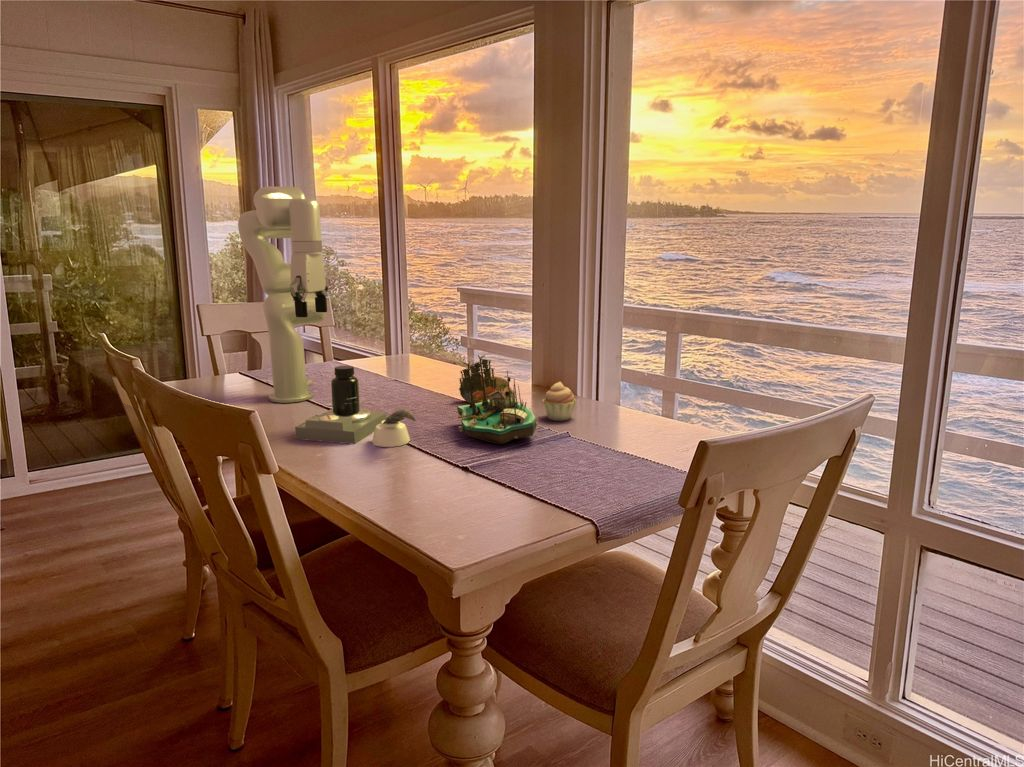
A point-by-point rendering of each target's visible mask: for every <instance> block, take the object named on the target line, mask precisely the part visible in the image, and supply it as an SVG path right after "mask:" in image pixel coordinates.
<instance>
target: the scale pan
mask: <svg viewBox="0 0 1024 767" xmlns="http://www.w3.org/2000/svg"><path fill="white" fill-rule="evenodd" d="M331 409H332V410H330V409H329V411H328V410H327V411H325V413H324V412H323V415H324V416H326V415H335V414H334V413H333V408H331ZM336 416H338V417H352V423H353V422H359V421H363V420H366V419H368V418H370V416H371V410H370V409H368V408H365V407H361V406H360V411H359V413H357V414H355V415H349V416H339V415H336Z"/></svg>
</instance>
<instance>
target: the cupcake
mask: <svg viewBox="0 0 1024 767" xmlns="http://www.w3.org/2000/svg"><path fill="white" fill-rule="evenodd" d="M541 401H542V403H543V405H544V408H545V412H546V413H545V414H546V417H547V419H549V420H551V421H555V422H556V421H557V422H558V421H559V422H563V421H568V420H570V419H571V418H572V415H573V410H574V408H575V406H576V405H577V402H578V401H577V400H576V398H575V395H574V393H573V392H572V390H571V389H570V388H569V387H567V386H565V385H564V384H563V382H562V381H557V382H556V383H554V384H553V385H552V386H551V387H550V388H549V390H548V391H547V392H546V393H545V398H544V399H542V400H541Z"/></svg>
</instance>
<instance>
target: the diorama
mask: <svg viewBox="0 0 1024 767" xmlns="http://www.w3.org/2000/svg"><path fill="white" fill-rule="evenodd" d="M477 357H478V359H479V361H478V362H475V363H472V364H470V363H471V362H470V361H468V363H467V362H463V363H462V364H463V365H466V366H467V368H464V369H462V370H460V371H459V373H460V375H461V377H459V384H460V385H461V388H462V389H461V388H460V387H459V388H458V390H459V394H460V396H461V398H463V395H464V394H466V393H468V395H469V393H470V396H471V400H470V403H469V404H464V405H459V406H458V405H457V406H456V409H457V414H458V416H457V418H458V419H461V425H459V426H458V430H459V431H460V432H461V433H463V432H465V433H466V435H467V436H469V437H472V438H475V439H478V440H482V441H484V442H488V443H492V444H498V445H504V444H507V443H509V442H511V441H512V440H519V439H525V438H528V437H532V436H533V435H534V434H535V431H536V429H537V426H538V425H539V422H538V421H537V419H536V416H535V414H534V413H533V411H532V410H531V408H529V407H527V402H526V401H525V403H524V401H523V399H521V393H520V392H521V391H520V386H519V384H517V387H518V398H519V401H518V398H517V390H516V382H515V379H513V388H514V389H513V388H511V386H510V382H511V379H512V377H510V376H509V373H508V372H509V371H508V370H506V376H504V379H505V380H506V381H507V384H508V387H506V386H507V385H506V383H505V386H504V388H503V389H501V386H500V390H496V391H494V392H492V393H490V394H488V395H486V393H485V386H484V382H485V385H486V387H487V388H488V386H489V385H490V386H491V387H492V388H493V383H494V388H495V389H496V378H494V376H495V373H496V372H495V373H494V370H495V367H493V368H492V365H491V362H492V360H490V359H486V358H485V359H484V358H483V357H486V354H484V355H481V357H480V355H479V354H478V355H477ZM470 376H471V377H470ZM483 376H485V378H484V377H483ZM491 376H492V377H493V378H491ZM487 377H488V378H487ZM470 378H471V380H470ZM481 378H482V381H481ZM484 379H485V380H484ZM492 379H494V381H493V380H492ZM489 380H490V382H489ZM505 380H503V382H504V381H505ZM462 381H463V382H462ZM472 381H473V382H472ZM481 382H482V383H481ZM462 383H463V386H464V387H462ZM466 385H467V386H466ZM468 385H469V386H470V387H469V386H468ZM482 385H483V386H482ZM465 387H466V389H465ZM477 389H478V391H480V390H481V391H483V402H480V403H476V404H475V402H474V399H473V390H474V392H475V391H477ZM465 390H466V391H465ZM462 391H463V392H462ZM486 396H487V397H489V400H487V397H486Z"/></svg>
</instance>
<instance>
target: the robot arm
mask: <svg viewBox="0 0 1024 767" xmlns="http://www.w3.org/2000/svg"><path fill="white" fill-rule="evenodd" d="M253 205H254V207H255V210H250V211H249V210H248V211H245V212H243V213H241V214H240V215H239V217H238V222H237V228H238V235H239V237H240V240H241V242H242V245H243V247H244V248H245V250H246V251H247V253H248V254H249V256H250V257H251V259H252V261H253V263H254V267H255V269H256V273H257V276H258V280H259V282H260V285H261V288H262V290H263V292H264V293H265V294H266V295H268V296H267V297H266V298H265V299H264V302H263V304H262V307H263V313H264V314H263V315H264V318H265V322H266V327H267V329H268V330H267V332H268V337H269V339H268V340H269V349H270V350H269V351H270V361H271V372H272V373H271V374H272V384H273V392H272V393H271V394H269V395H268V399H269V401H270V402H273V403H279V404H290V403H298V402H304V401H307V400H310V399H312V398H313V392H312V391H310V390H308V388H309V387H311V386H312V385H314V381H313V379H308V380H307V375H306V362H305V348H304V345H305V344H304V340H303V337H302V335H301V334H300V333H299V332H298V331H297V330H296V329H295V327H294V326H298V325H309V324H317V323H321V322H322V321H323V320H324V319H325V318H326V315H327V314H326V313H327V312H328V304H327V297H328V290H329V287H328V286H329V279H328V278H327V277H326V271H325V270H326V269H325V264H324V263H325V262H324V257H323V242H322V241H323V239H322V228H321V226H322V225H321V211H320V204H319V201H318V200H316V199H315V198H307V197H306V195H305V192H303V190H302V189H300V188H299V187H297V186H263V187H261V188H258V190H257V191H255V193H254V196H253ZM267 239H290V240H291V252H292V254H291V257H290V258H291V259H290V263H286V262H285V260H284V257H283V253H282V252H281V251H280V250H279V249H278V247H276V246H275V245H274V244H273V243H271V242H270V241H268V240H267Z"/></svg>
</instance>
